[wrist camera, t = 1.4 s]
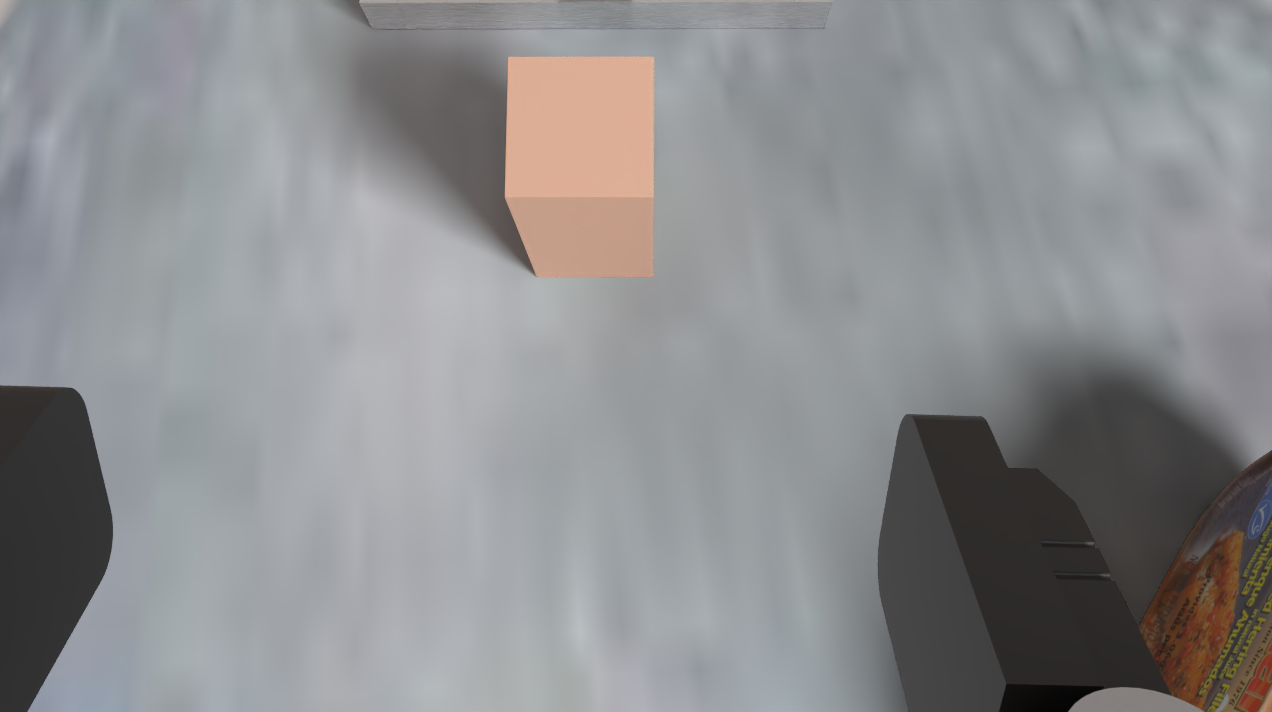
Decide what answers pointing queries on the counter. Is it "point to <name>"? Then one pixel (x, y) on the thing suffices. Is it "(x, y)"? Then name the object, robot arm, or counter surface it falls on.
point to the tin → (1220, 603)
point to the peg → (582, 164)
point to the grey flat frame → (595, 14)
